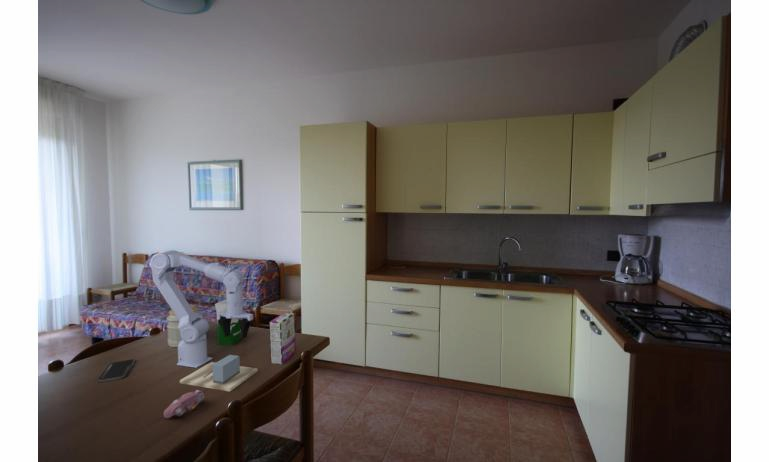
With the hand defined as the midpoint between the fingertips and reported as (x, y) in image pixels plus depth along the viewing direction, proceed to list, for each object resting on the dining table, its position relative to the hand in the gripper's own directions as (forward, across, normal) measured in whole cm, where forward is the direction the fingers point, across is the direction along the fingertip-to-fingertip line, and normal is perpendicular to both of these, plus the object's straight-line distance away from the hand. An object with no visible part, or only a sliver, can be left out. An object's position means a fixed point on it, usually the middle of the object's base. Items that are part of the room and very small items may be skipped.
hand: (235, 337), depth 128 cm
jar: (+10, -35, +10) cm, 38 cm away
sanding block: (+8, +7, -13) cm, 17 cm away
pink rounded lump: (+10, +8, -31) cm, 34 cm away
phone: (+10, -36, -18) cm, 41 cm away
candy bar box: (+10, +16, +7) cm, 20 cm away
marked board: (+9, +3, -12) cm, 16 cm away
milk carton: (+10, -16, +15) cm, 24 cm away
